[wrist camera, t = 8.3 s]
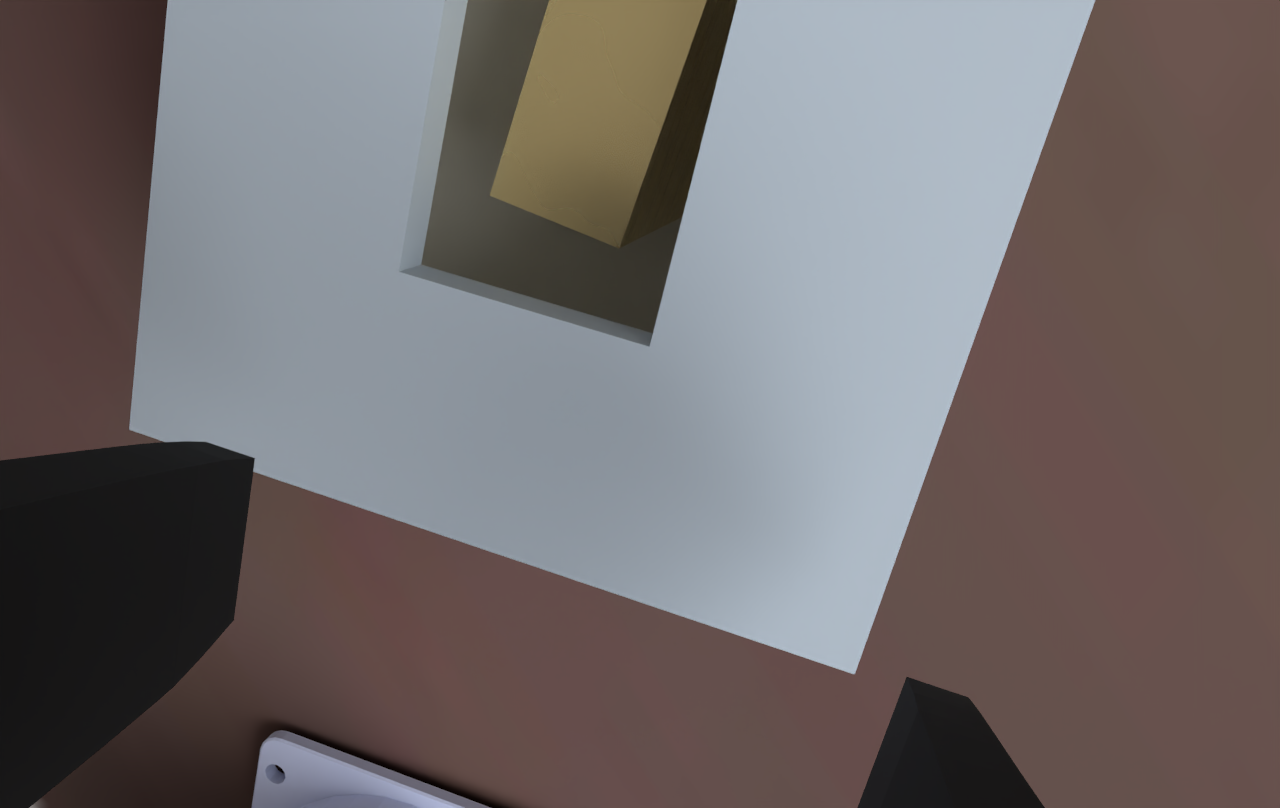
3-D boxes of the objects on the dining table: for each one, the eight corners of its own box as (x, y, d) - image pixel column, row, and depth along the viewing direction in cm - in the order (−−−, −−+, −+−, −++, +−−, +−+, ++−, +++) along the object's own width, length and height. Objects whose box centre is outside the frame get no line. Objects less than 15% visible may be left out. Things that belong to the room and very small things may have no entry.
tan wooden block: (685, 214, 19) (619, 248, 14) (587, 175, 19) (489, 195, 15) (790, -66, 18) (753, -131, 13) (680, -106, 18) (604, -184, 13)
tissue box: (866, 493, 20) (854, 674, 14) (356, 335, 22) (129, 429, 15) (1143, -322, 16) (1317, -622, 9) (480, -446, 18) (237, -776, 11)
